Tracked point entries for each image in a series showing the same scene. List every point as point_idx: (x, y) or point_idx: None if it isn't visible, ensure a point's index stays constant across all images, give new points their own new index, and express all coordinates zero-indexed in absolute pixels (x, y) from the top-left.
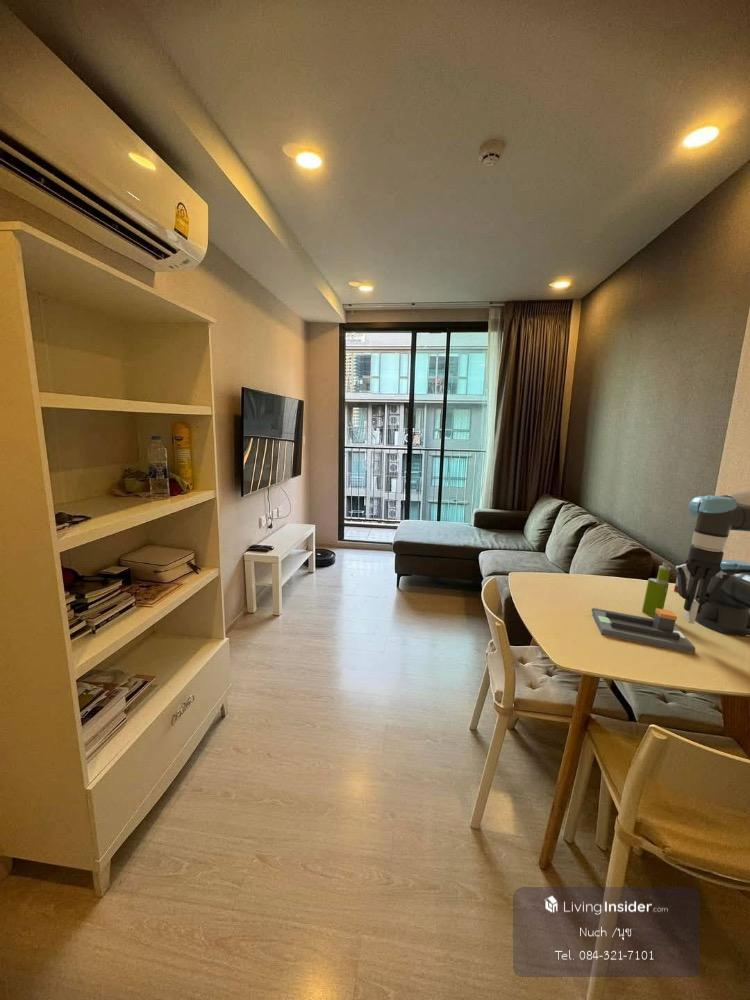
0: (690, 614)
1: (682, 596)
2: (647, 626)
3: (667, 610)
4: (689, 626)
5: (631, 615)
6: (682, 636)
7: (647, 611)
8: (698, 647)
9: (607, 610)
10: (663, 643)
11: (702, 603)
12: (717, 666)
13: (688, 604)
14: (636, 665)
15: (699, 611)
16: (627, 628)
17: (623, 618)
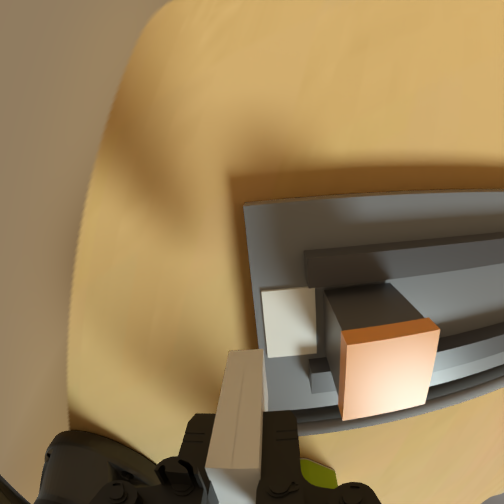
0: (260, 385)
1: (371, 495)
2: None
3: (368, 411)
4: None
5: (412, 411)
6: (273, 304)
7: (326, 474)
8: (205, 286)
9: (480, 394)
10: (379, 193)
11: (178, 466)
12: (177, 128)
13: (285, 453)
14: (468, 6)
15: (196, 422)
16: (502, 234)
17: (485, 331)
